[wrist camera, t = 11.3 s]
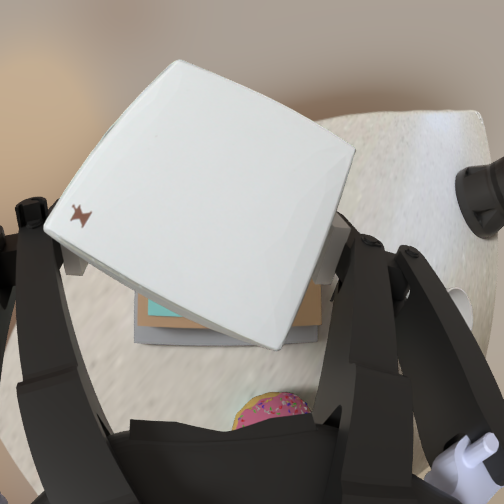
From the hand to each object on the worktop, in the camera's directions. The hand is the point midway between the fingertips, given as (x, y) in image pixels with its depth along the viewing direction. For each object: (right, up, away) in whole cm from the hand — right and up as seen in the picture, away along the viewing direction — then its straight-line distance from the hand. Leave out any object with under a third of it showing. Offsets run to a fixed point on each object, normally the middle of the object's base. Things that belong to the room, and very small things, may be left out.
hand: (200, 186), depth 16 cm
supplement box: (-1, -4, +4) cm, 6 cm away
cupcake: (+4, -23, +15) cm, 27 cm away
